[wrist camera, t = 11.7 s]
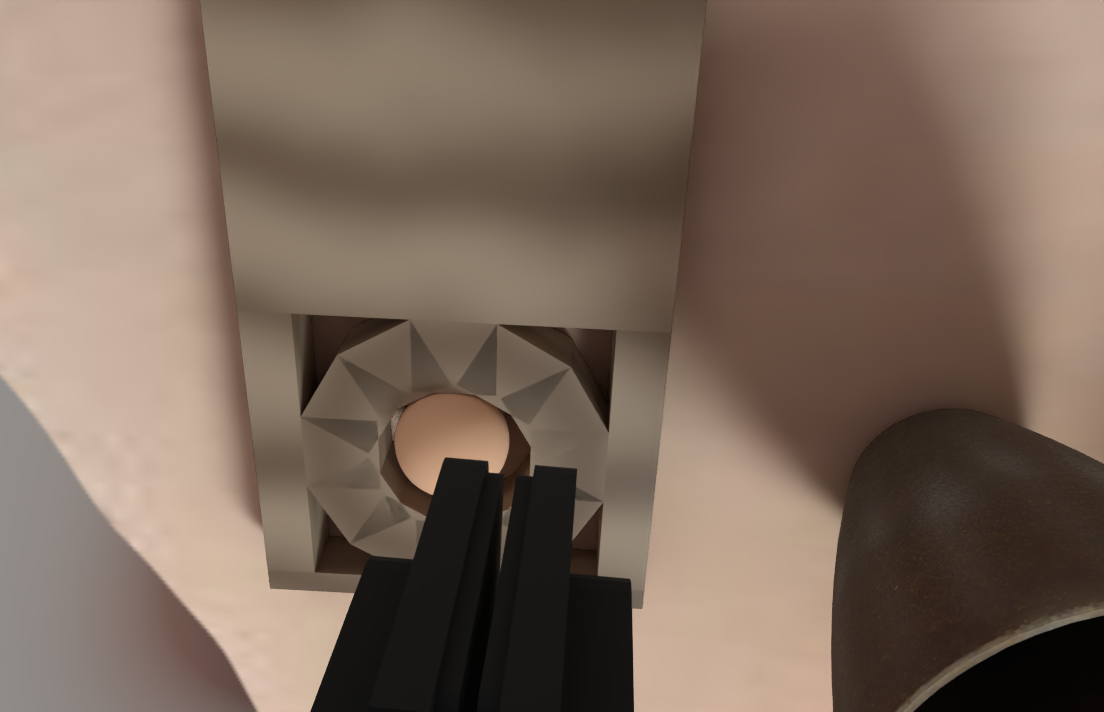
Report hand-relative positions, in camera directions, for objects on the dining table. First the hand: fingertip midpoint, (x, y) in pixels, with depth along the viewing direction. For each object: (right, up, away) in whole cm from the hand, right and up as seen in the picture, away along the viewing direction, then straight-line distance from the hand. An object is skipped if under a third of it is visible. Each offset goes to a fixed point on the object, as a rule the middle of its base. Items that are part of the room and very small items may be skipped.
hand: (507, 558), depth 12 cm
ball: (-3, -1, +25) cm, 25 cm away
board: (-3, +4, +25) cm, 25 cm away
